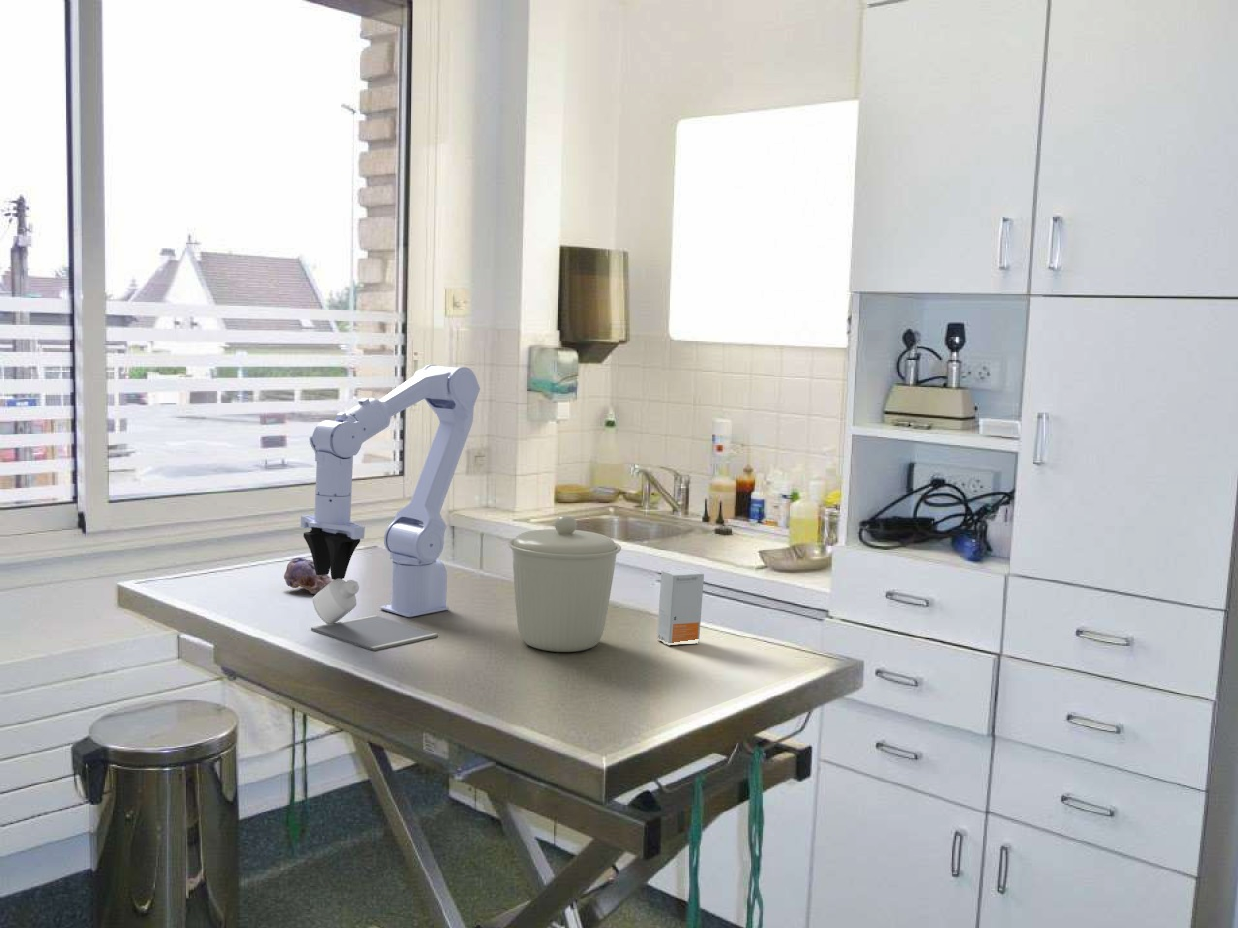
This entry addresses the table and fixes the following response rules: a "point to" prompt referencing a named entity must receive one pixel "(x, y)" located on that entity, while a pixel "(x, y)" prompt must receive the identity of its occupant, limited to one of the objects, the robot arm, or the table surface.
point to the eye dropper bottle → (335, 600)
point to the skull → (305, 575)
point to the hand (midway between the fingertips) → (329, 576)
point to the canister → (562, 585)
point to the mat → (374, 632)
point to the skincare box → (680, 605)
